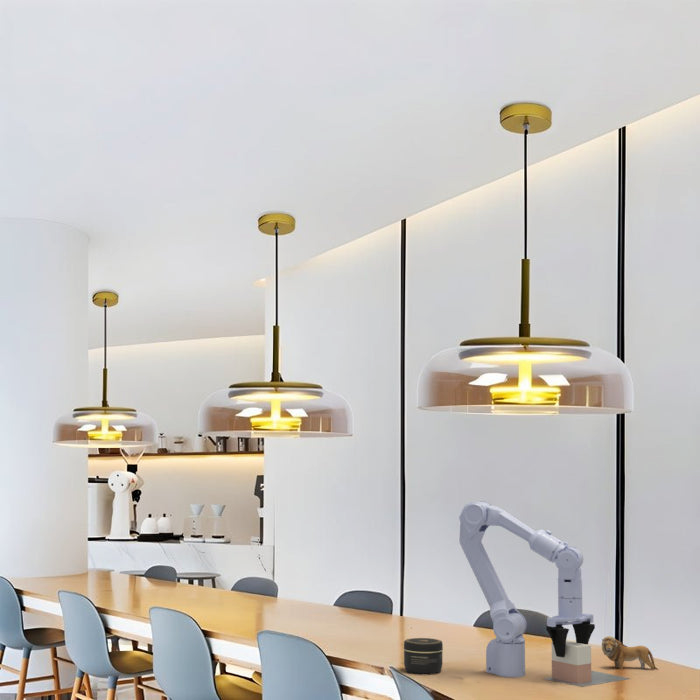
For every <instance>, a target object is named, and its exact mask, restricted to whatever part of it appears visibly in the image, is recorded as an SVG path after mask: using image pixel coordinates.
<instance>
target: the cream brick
mask: <svg viewBox="0 0 700 700" xmlns="http://www.w3.org/2000/svg"><path fill="white" fill-rule="evenodd" d="M552 660H553V661H558V662H563V663H568V664H573V665H583V664H590V663H591V664H592V645H591V644H588V645H587V644H581V643H576V641H575V642H574V641H569V640H566V648H565V657H557V656H556V653H555V649H554V645H553V642H551V661H552Z"/></svg>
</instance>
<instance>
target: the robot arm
mask: <svg viewBox="0 0 700 700" xmlns="http://www.w3.org/2000/svg"><path fill="white" fill-rule="evenodd" d="M458 520H459V545H460V546H461V549H462V551H463V554H464V555H465V557H466V560H467V562H468V563H469V566H470V568H471V569H472V573H473V574H474V576H475V578H476V581H477V583H478V585H479V587H480V590H481V592H482V594H483V595H484V598H485V600H486V602H487V604H488V606H489V610H490V611H489V613H490V614H489V615H490V616H489V617H490V618H491V620H492V630H493V633H494V635H495V638H494V639H491V640H490V641H489V642H488V643H487V646H486V649H485V650H486V651H485V654H486V655H485V656H486V657H485V658H486V659H485V660H486V662H485V663H486V664H485V666H486V667H485V668H486V669H485V670H486V673H489V674H492V675H497V676H499V677H502V678H503V677H504V678H522V677H526V639H525V638H524V634H525V632H526V630H527V626H528V625H527V619H526V618H525V616H524V615H523V614H522V613H521V612H519V611H518V608H517V607H516V606H515V604H514V603H513V602H512V601H511V600H510V599H509V597H508V594H507V592H506V591H505V588H504V587H503V583H502V582H501V580H500V578H499V576H498V573H497V572H496V569H495V567H494V565H493V564H492V561H491V559H490V558H489V554H488V553H487V551H486V549H485V547H484V544H483V542H482V540H483V538H484V535H485V533H486V530H487V529H488V528H489V527H491V526H494V527H495V526H496V527H497V526H498V527H502V528H503V529H505V530H507V531H508V532H510V533H512V534H514V535H516V536H517V537H519V538H521V539H523V540H524V541H526V542H528V545H529V548H530V550H531V551H533V552H534V553H536V554H537V555H539V556H541V557H543V558H544V559H545V560H547V561H549V562H551V563H554V564H555V566H556V567H557V570H558V572H557V573H558V578H557V593H558V594H557V595H558V596H557V597H558V598H557V599H558V600H557V601H558V602H557V603H558V607H557V608H558V613H557V614H558V615H554V616H551V617H546V627H545V629H546V631H547V634H548V635H549V636H550V637H549V638H550V640H551V641H552V642H553V645H554V649H555V653H556V656H557V657H565V648H566V641H567V638H568V634H569V631H570V630H569V628H566V627H564V626H569V625H572V627H573V631H574V636H575V642H576V643H581V644H587V645H589V642H590V639H591V636H592V635H593V631H594V630H595V629H596V628H595V627H596V625H595V624H594V614H592V613H583V579H582V569H581V567H582V566H583V564H584V556H583V554H582V552H581V551H580V550H579V549H578V548H577V547H576V546H573V545H571V546H569V542H568V541H562V540H561V539H559V538H557V537H555V536H554V535H552V534H553V532H552V531H550V530H548V529H546V530H544V529H539V530H535V529H533V528H531V527H530V526H528V525H527V524H525V523H524V522H523V521H521V520H519V519H517V518H516V517H515V516H513V515H512V514H510V513H509V512H507V511H505V510H504V509H502V508H501V507H499V506H496V505H492V504H491V503H490V502H489V501H485V500H482V501H469V502H467V504H465V505H464V506H463V508H462V510H461V512H460V515H459V519H458ZM552 642H551V643H552Z"/></svg>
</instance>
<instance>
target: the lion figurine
mask: <svg viewBox="0 0 700 700" xmlns="http://www.w3.org/2000/svg"><path fill="white" fill-rule="evenodd" d="M601 650H602V653H603V654H604V656H606V657H607V658H608V659H609V660H610V661H612V662H614V667H615V668H618V669H619V670H624V668H623V667H624V662H633V661H635V660H637V659H638V661H639V664H640V667H639V668H640V669H645V667H646V665H647V666H648V667H649V668H650V669H651V671H655V670H657V671H658V670H659V668H657V667H656V665H655V660H654V657H653V653H652V652H651V650H650V649H649V648H648V647H646V646H645V645H637V646H636V645H634V646H627V645H626V644H624V643H623V642H622V641H620V640H618V639H616V638H614V637H613V636H605V637H604V638H602V641H601Z"/></svg>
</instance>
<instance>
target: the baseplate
mask: <svg viewBox="0 0 700 700" xmlns="http://www.w3.org/2000/svg"><path fill="white" fill-rule="evenodd" d="M542 679H544V680H548V681H552V682H557V683H562V684H567V685H570V686H571V685H572V686H575V687H578V688H579V687H580V688H584V687H590V686H595V685H603V684H607V683H613V682H619V681H626V680H632V678H630V677H626V676H622V675H616V674H611V673H606V672H599V671H595V670H591V680H592V681H591V682H585V683H578V684H577V683H572V682H568V681H563V680H558V679H554V678H552V676H550V677H543V678H542Z"/></svg>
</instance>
